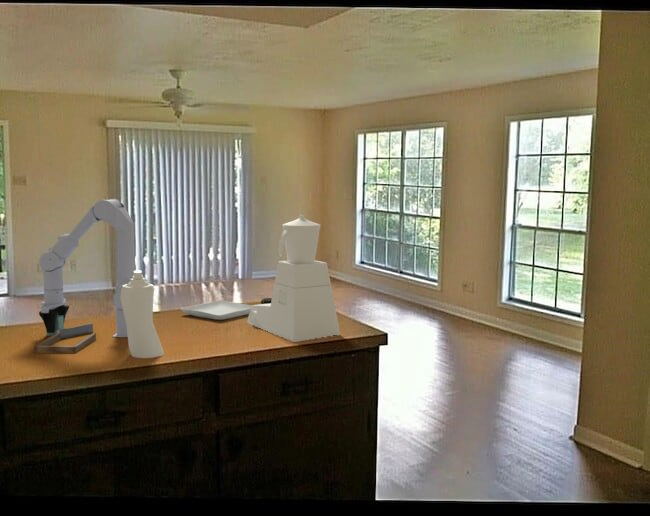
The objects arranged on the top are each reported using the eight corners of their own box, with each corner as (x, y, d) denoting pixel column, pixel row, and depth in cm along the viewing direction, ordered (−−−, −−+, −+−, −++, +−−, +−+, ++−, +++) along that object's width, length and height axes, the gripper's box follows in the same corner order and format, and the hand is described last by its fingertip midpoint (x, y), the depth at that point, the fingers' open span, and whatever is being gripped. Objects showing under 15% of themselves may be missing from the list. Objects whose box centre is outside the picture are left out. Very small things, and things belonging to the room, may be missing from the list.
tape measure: (280, 308, 247) (279, 299, 246) (263, 311, 245) (262, 302, 244) (276, 305, 253) (275, 296, 252) (259, 307, 251) (258, 298, 250)
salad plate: (219, 307, 252) (219, 299, 252) (259, 314, 240) (259, 306, 240) (179, 316, 235) (178, 307, 235) (219, 324, 223) (219, 315, 223)
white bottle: (124, 365, 173) (122, 274, 169) (120, 355, 182) (118, 269, 179) (167, 360, 177) (166, 272, 174) (161, 351, 187) (159, 267, 184)
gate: (91, 332, 208) (90, 323, 207) (93, 332, 207) (92, 323, 207) (56, 339, 198) (56, 330, 197) (58, 340, 197) (57, 330, 197)
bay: (96, 341, 197) (95, 333, 197) (76, 355, 181) (76, 346, 181) (57, 340, 197) (57, 332, 197) (34, 354, 181) (34, 346, 181)
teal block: (64, 333, 207) (63, 315, 206) (59, 336, 203) (58, 318, 202) (51, 333, 207) (51, 315, 206) (46, 336, 203) (45, 317, 202)
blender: (244, 325, 222) (244, 211, 217) (290, 319, 232) (290, 210, 227) (291, 346, 194) (291, 216, 189) (340, 339, 204) (342, 215, 199)
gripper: (50, 285, 210) (52, 325, 212) (30, 292, 196) (32, 335, 197) (72, 285, 210) (73, 325, 212) (53, 293, 196) (55, 335, 197)
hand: (55, 330), depth 205 cm, fingers open, 6 cm apart
